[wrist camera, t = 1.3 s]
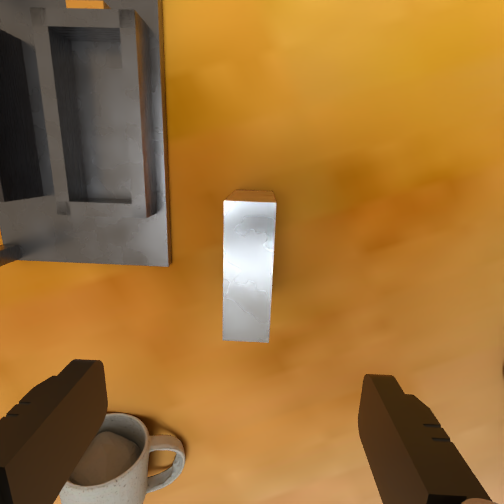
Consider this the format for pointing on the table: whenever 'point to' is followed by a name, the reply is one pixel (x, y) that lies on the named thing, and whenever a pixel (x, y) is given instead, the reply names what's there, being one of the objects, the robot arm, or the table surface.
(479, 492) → the robot arm
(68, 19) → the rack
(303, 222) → the table surface
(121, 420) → the ceramic mug
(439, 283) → the table surface
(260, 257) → the grey rectangular block
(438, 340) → the table surface
